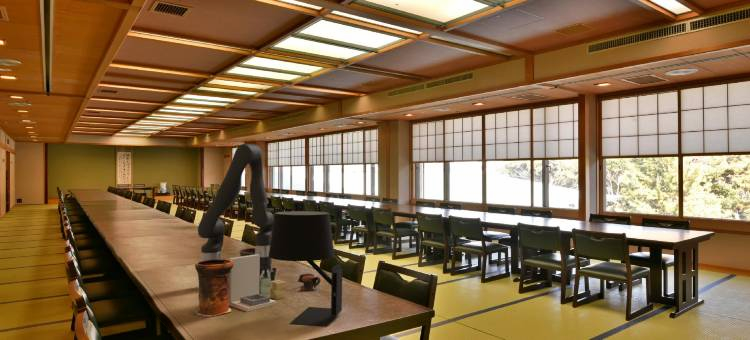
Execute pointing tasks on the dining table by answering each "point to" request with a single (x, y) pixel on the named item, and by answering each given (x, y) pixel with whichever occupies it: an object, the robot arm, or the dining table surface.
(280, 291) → the mustard block
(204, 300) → the vessel
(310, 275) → the pottery mug
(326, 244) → the table lamp
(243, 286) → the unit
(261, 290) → the sage block
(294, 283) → the dining table surface
